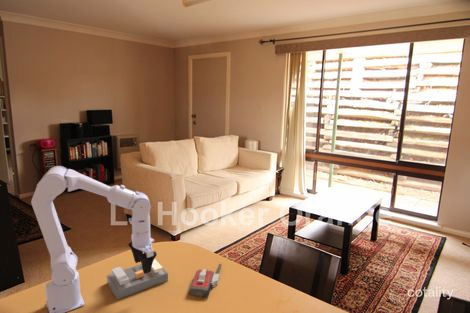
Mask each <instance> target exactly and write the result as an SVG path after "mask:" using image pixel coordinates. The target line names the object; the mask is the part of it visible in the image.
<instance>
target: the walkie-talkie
mask: <svg viewBox="0 0 470 313" xmlns="http://www.w3.org/2000/svg"><path fill="white" fill-rule="evenodd" d="M221 269H222V263H219V264H218V266H217V270H216V273H215V272H214V271H212V270H208V269H206V268H205V269H204V268H202V269H198V270H196V271H195V274H194V277H193V280H192V282H191V283H190V286H189V295H190V296H195V297H203V298H208V297H209V296H210V294H211V289H212V288H214V287H217V286H218V284H219V280H220V279H221V278H220V277H221V276H220V272H221Z"/></svg>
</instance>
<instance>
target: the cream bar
mask: <svg viewBox="0 0 470 313" xmlns="http://www.w3.org/2000/svg"><path fill="white" fill-rule="evenodd" d="M151 269H152V270H153V272H154V273H156V272H159V271H162V270H163V269H164V267H163V266H162V264H160V262H158V261H157V259H156V258H155V259H154V261H153V263H152V267H151Z"/></svg>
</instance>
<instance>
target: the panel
mask: <svg viewBox="0 0 470 313" xmlns="http://www.w3.org/2000/svg"><path fill="white" fill-rule="evenodd" d="M140 270H143V269H142V263H139V264H138V265H134V266H131V267H128V268H125V269H123V271H124V272H125V274H126V275H127V276H128V278H129V282H128V283H125V284H122V285H120V284H119V283H118V281H117V279H116V278H115V276H114V275H113V273H112V272H111V273H110V274H107V275H106V283H107V285H108V287H109V288H110V290H111V291H112V293H113V295H114V297H115V299H116V300H117V301H118V300H120V299H123V298H126V297H128V296H132V295H134V294H137V293H139V292H141V291H144V290H147V289H149V288H152V287H154V286H155V287H156V286H157V285H161V284H163V283H166V282H168V281H169V273H168V271H166V270H165V269H164V268H163V270H162V271H159V272H156V273H154V272H153V270H152V269H151V271H150V272H149V273H146V274H145V276H144V277H141V278H138V279H136V278H135V272H137V271H140Z"/></svg>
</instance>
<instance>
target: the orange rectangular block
mask: <svg viewBox="0 0 470 313" xmlns="http://www.w3.org/2000/svg"><path fill="white" fill-rule="evenodd" d="M144 276H145V274H144V272H143V270H140V271H137V272H135V278H136V279H138V278H141V277H144Z"/></svg>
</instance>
